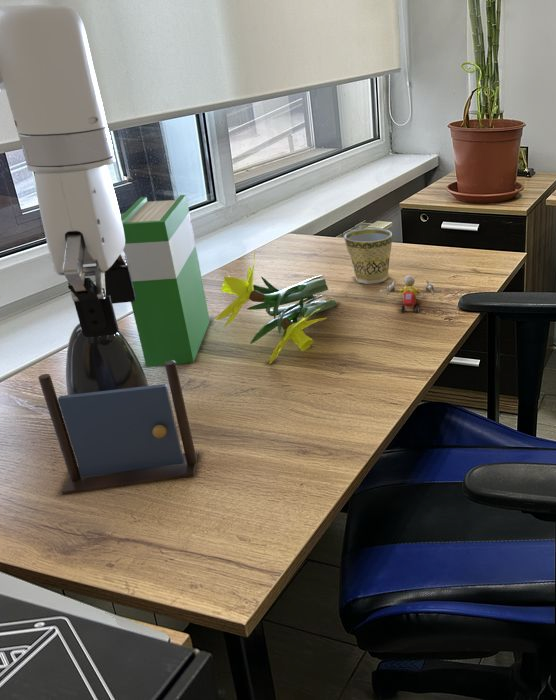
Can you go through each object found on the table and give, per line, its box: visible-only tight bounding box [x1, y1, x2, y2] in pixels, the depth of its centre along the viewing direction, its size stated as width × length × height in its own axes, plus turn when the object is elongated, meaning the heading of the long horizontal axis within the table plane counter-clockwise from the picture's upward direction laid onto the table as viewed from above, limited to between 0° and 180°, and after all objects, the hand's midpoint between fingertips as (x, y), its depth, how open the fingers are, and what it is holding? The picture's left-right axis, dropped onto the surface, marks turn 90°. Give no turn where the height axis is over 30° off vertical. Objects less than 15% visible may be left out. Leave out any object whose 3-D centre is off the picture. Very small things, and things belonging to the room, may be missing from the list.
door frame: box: [38, 360, 199, 496], centre depth 85 cm, size 15×5×15 cm, turn 103°
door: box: [57, 383, 184, 477], centre depth 85 cm, size 12×2×11 cm, turn 103°
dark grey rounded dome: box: [65, 322, 149, 395], centre depth 98 cm, size 10×10×15 cm
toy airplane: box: [379, 275, 442, 314], centre depth 137 cm, size 9×9×6 cm
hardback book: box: [121, 194, 211, 367], centre depth 118 cm, size 18×7×24 cm, turn 10°
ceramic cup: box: [343, 227, 393, 285], centre depth 151 cm, size 13×10×10 cm
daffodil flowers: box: [214, 251, 337, 365], centre depth 121 cm, size 17×15×35 cm
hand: (111, 317), depth 75 cm, fingers open, 8 cm apart
